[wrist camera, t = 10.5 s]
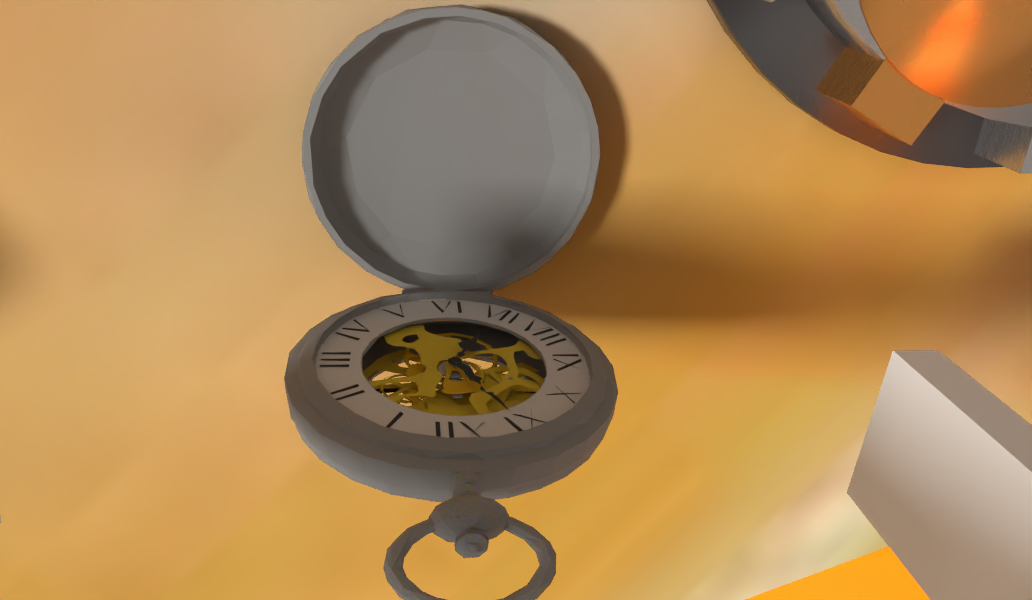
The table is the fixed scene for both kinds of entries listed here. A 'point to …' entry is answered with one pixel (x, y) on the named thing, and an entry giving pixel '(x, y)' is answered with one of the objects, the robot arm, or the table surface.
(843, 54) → the sprocket
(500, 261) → the pocket watch
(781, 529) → the table surface
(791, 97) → the base plate
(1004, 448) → the robot arm
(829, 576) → the orange juice
